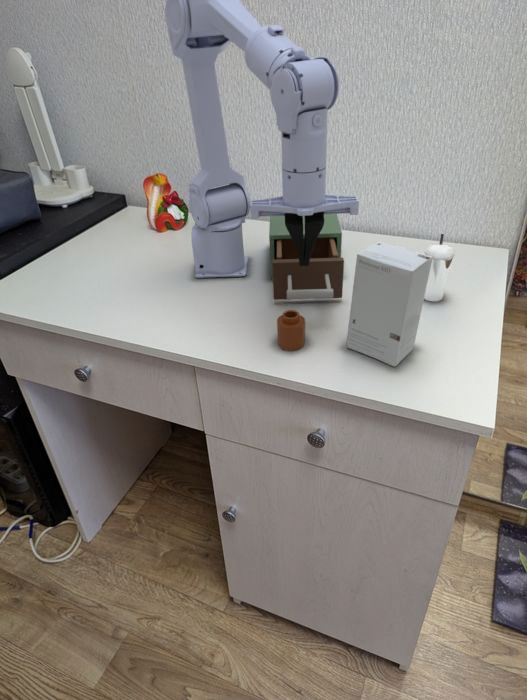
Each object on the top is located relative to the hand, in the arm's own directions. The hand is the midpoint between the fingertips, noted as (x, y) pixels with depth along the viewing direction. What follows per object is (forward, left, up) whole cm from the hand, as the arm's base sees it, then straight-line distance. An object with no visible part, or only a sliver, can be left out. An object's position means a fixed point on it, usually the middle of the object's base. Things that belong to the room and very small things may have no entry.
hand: (303, 263), depth 72 cm
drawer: (+1, +10, -9) cm, 14 cm away
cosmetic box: (+11, -7, -11) cm, 17 cm away
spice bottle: (-2, -5, -10) cm, 12 cm away
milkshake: (+22, +8, -11) cm, 25 cm away
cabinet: (+1, +23, -10) cm, 25 cm away
